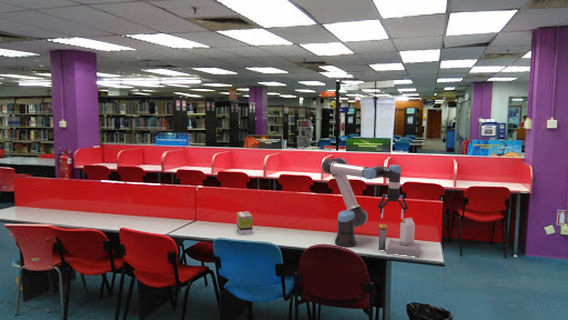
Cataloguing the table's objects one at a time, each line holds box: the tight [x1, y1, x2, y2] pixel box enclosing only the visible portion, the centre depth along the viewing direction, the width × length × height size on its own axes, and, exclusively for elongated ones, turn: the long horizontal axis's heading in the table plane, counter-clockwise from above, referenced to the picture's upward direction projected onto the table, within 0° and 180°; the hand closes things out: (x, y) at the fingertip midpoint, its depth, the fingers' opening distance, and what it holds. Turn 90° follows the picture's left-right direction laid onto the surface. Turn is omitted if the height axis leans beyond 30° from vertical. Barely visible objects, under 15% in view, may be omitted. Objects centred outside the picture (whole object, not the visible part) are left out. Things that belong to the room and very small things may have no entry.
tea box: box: [236, 211, 254, 236], centre depth 304 cm, size 15×10×15 cm
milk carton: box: [399, 217, 416, 243], centre depth 279 cm, size 7×7×19 cm
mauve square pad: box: [386, 239, 421, 258], centre depth 262 cm, size 20×20×6 cm
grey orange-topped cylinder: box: [377, 223, 388, 251], centre depth 264 cm, size 6×6×18 cm
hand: (391, 218), depth 265 cm, fingers open, 13 cm apart
